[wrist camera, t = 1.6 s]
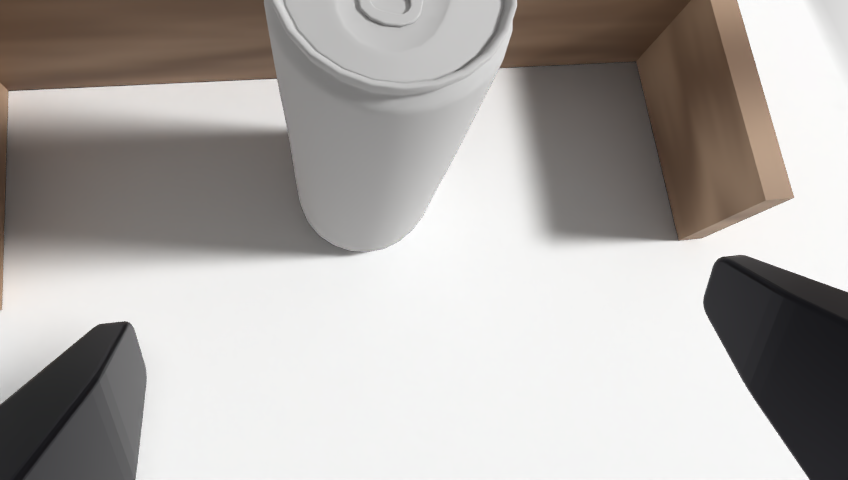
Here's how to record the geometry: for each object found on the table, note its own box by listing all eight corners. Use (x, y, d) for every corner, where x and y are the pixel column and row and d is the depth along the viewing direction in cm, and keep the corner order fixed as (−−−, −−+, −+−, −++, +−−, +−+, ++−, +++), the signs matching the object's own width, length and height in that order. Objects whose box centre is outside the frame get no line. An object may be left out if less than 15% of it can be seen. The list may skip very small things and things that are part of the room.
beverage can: (438, 147, 23) (540, -98, 12) (415, 268, 22) (506, 124, 11) (312, 119, 23) (294, -164, 11) (282, 240, 22) (226, 59, 10)
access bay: (701, 237, 24) (794, 197, 19) (-33, 313, 20) (-152, 284, 15) (651, 35, 26) (723, -47, 21) (-22, 61, 22) (-123, -36, 17)
